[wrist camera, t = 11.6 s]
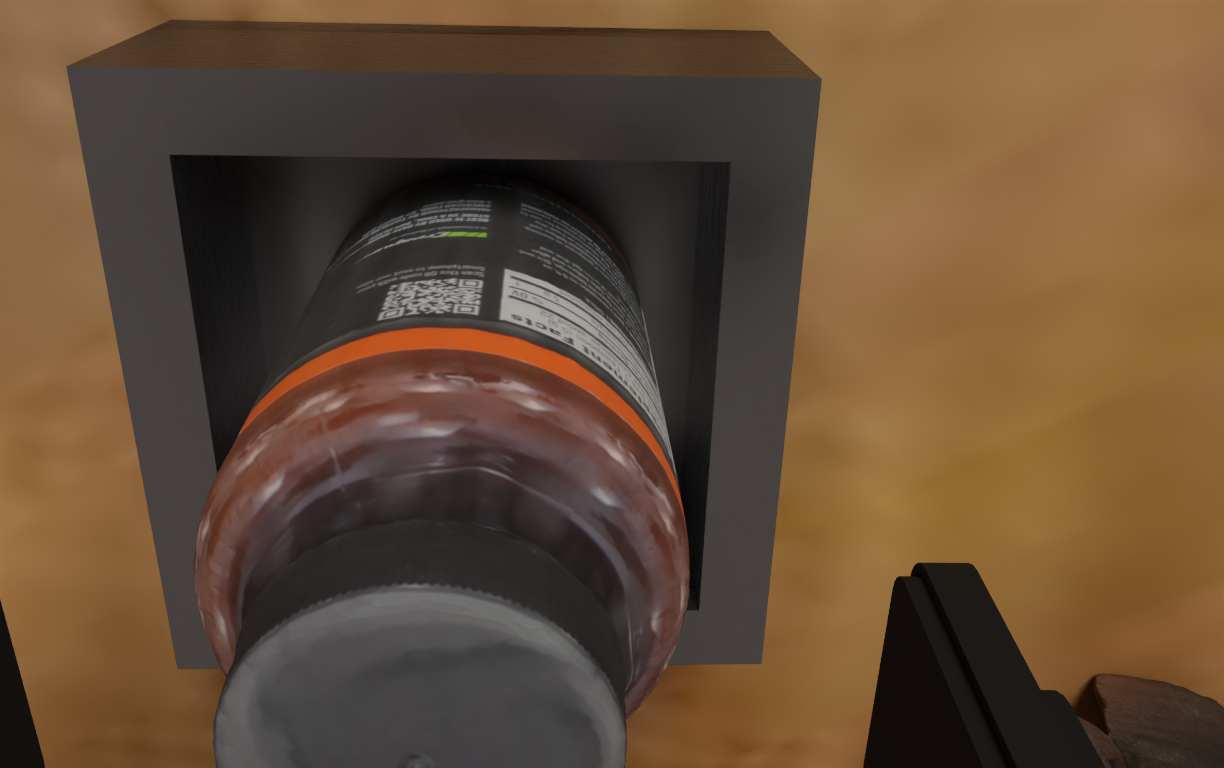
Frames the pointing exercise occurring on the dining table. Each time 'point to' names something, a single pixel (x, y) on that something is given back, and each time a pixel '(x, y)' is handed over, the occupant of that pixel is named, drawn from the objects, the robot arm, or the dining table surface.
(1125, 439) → the dining table surface
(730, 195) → the can holder
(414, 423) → the supplement bottle
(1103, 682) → the pottery mug
